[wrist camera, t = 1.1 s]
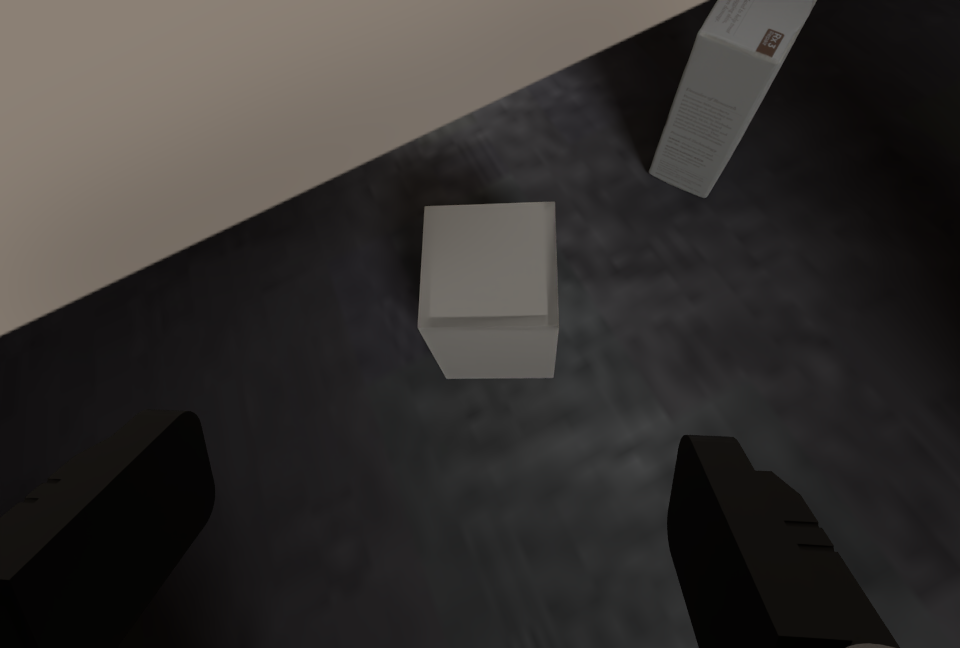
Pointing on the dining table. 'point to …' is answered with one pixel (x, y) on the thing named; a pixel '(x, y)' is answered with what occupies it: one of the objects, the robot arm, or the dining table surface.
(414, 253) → the dining table surface
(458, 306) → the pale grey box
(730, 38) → the skincare box
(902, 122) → the dining table surface
